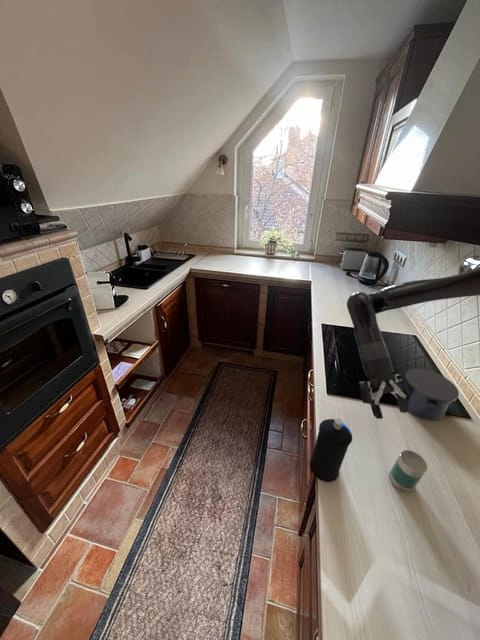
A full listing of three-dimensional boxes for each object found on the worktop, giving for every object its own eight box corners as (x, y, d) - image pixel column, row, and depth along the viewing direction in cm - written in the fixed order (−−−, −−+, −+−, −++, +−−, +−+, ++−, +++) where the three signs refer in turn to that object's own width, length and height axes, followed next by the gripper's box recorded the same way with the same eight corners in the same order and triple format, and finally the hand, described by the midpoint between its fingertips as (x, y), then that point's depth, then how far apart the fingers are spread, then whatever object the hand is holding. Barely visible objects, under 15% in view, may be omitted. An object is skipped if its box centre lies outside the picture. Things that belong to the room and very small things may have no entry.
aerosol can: (327, 488, 68) (345, 442, 58) (303, 465, 74) (315, 419, 64) (344, 469, 73) (362, 423, 63) (320, 448, 78) (333, 403, 68)
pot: (441, 394, 99) (452, 374, 94) (450, 431, 85) (465, 410, 80) (395, 381, 105) (404, 362, 100) (397, 413, 91) (407, 392, 85)
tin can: (412, 476, 72) (425, 456, 67) (414, 497, 67) (428, 477, 62) (388, 466, 74) (399, 446, 69) (389, 486, 69) (400, 466, 64)
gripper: (363, 360, 69) (380, 422, 66) (404, 352, 73) (424, 411, 69) (346, 363, 76) (361, 419, 73) (385, 356, 80) (401, 409, 76)
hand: (392, 415), depth 71 cm, fingers open, 8 cm apart
